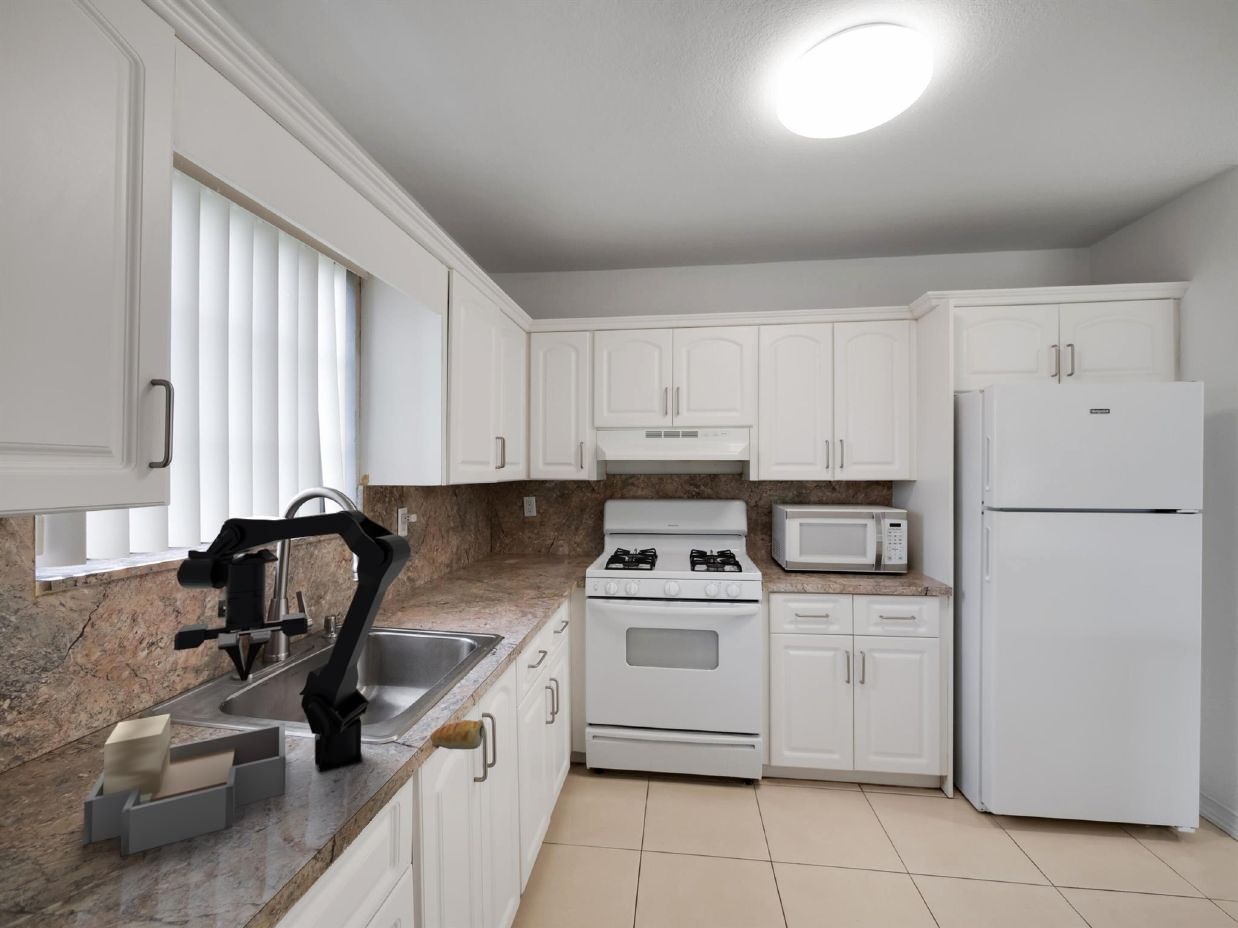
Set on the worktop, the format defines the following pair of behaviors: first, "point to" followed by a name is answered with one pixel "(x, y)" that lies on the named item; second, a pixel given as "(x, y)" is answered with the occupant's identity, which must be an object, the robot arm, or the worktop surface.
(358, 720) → the robot arm
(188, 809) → the box
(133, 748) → the block
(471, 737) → the pastry
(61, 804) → the worktop surface
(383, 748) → the worktop surface
